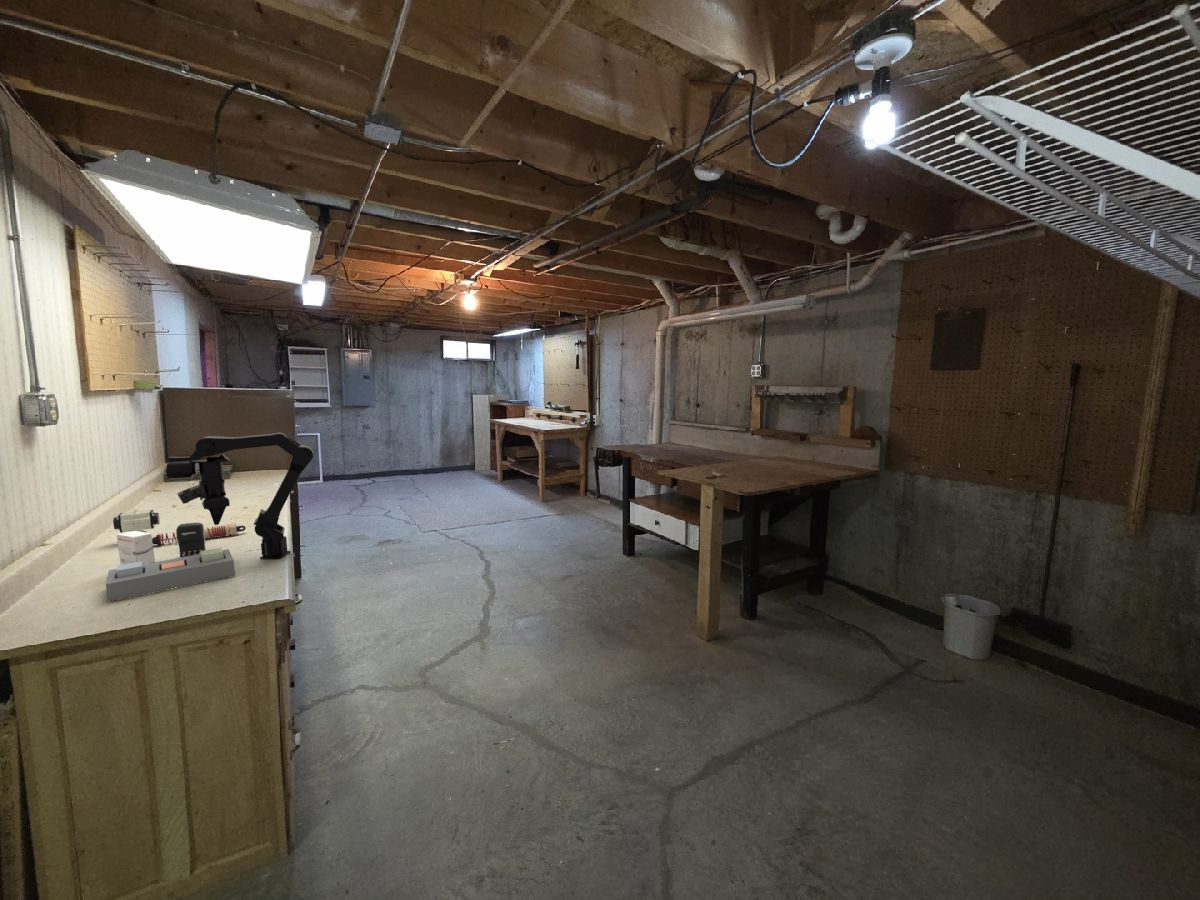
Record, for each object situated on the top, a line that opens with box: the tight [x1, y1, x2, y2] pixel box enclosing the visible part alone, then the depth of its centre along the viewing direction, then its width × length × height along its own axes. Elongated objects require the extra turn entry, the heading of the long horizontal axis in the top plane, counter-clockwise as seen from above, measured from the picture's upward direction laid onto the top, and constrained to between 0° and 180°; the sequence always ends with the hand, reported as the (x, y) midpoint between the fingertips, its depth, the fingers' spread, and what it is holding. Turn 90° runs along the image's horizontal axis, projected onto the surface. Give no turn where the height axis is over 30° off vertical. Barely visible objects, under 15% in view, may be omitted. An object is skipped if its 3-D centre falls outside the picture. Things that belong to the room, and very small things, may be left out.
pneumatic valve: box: [112, 509, 161, 534], centre depth 175 cm, size 6×12×12 cm, turn 127°
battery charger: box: [175, 521, 207, 558], centre depth 161 cm, size 7×4×11 cm, turn 120°
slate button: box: [116, 561, 143, 578], centre depth 135 cm, size 5×5×4 cm
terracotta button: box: [161, 560, 185, 570], centre depth 141 cm, size 5×5×4 cm
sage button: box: [201, 547, 224, 562], centre depth 147 cm, size 5×5×4 cm
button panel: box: [105, 548, 236, 603], centre depth 141 cm, size 27×13×5 cm, turn 133°
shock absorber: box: [152, 522, 246, 547], centre depth 178 cm, size 5×5×30 cm
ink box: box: [116, 531, 156, 565], centre depth 149 cm, size 9×5×12 cm, turn 71°
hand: (216, 524), depth 154 cm, fingers closed
